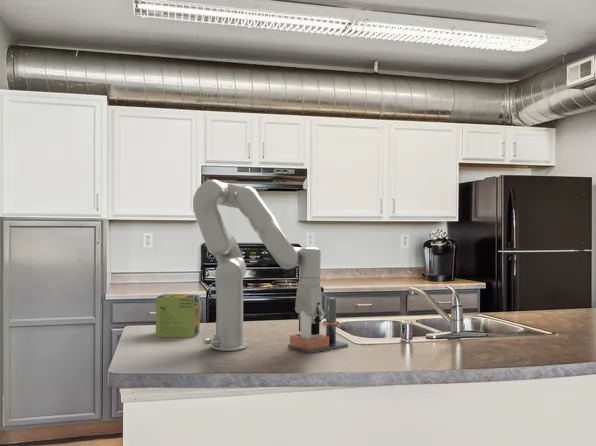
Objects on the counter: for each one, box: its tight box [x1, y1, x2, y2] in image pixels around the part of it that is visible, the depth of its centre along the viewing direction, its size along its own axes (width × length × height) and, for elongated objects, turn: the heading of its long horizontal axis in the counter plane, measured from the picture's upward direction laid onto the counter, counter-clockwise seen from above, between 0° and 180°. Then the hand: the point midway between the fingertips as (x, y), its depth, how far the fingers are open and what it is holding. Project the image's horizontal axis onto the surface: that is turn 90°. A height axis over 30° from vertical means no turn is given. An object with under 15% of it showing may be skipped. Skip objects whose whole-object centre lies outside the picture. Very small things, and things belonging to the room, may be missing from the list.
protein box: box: [155, 293, 201, 338], centre depth 218 cm, size 10×15×16 cm
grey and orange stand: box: [287, 297, 349, 355], centre depth 198 cm, size 18×12×17 cm, turn 127°
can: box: [299, 311, 318, 339], centre depth 196 cm, size 6×6×12 cm
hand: (309, 332), depth 195 cm, fingers closed on can, 6 cm apart
